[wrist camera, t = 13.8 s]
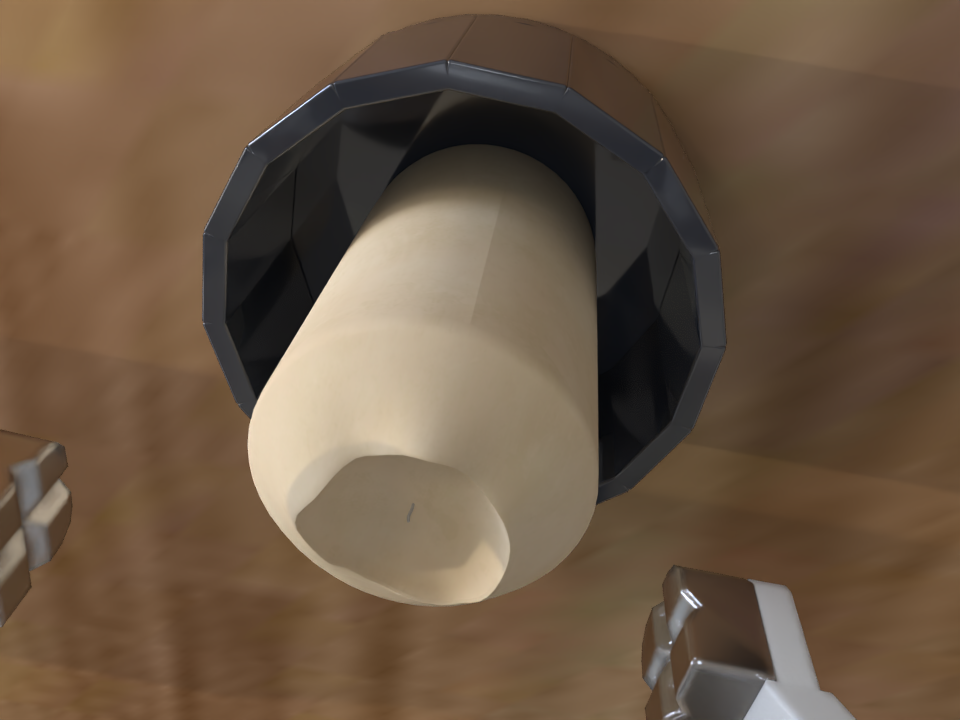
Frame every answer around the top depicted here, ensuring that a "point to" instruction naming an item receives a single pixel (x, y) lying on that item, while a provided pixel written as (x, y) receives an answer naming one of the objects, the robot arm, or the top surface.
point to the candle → (443, 388)
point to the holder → (500, 122)
